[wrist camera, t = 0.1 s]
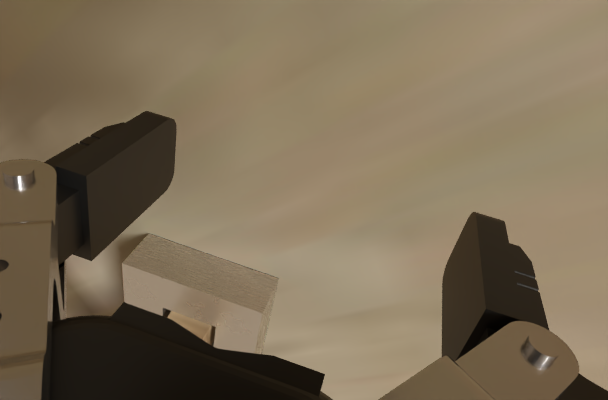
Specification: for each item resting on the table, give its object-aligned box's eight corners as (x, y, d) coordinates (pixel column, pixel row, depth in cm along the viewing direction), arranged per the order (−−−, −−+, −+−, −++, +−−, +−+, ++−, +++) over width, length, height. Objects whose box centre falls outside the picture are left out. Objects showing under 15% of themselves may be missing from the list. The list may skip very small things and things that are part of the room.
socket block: (148, 233, 41) (121, 263, 37) (278, 278, 39) (262, 313, 36) (149, 321, 48) (127, 352, 44) (260, 361, 46) (245, 397, 43)
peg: (185, 289, 42) (85, 438, 31) (223, 303, 41) (135, 458, 30) (184, 315, 44) (89, 463, 33) (219, 328, 44) (136, 482, 32)
